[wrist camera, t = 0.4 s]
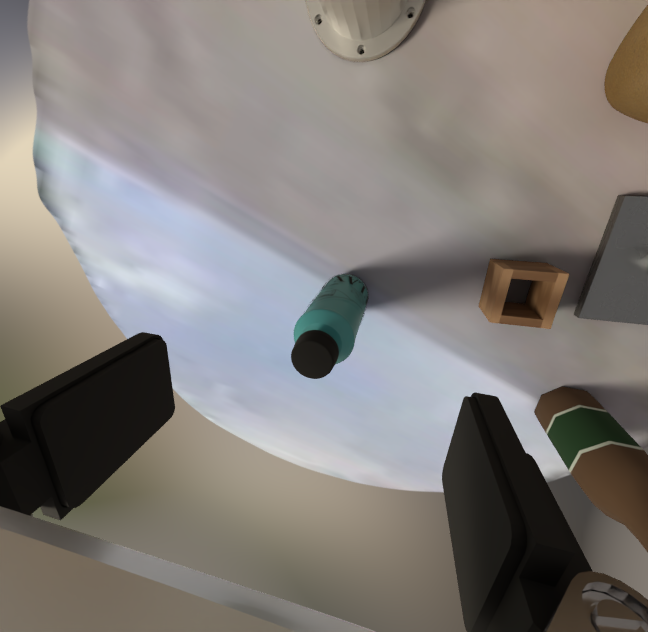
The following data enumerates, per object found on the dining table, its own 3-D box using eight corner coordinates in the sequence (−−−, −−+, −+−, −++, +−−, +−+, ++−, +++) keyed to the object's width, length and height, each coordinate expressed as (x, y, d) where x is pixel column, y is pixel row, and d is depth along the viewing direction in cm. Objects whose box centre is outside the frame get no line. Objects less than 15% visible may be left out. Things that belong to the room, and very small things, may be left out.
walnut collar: (490, 258, 39) (503, 268, 34) (546, 262, 37) (569, 273, 32) (478, 306, 41) (489, 322, 36) (531, 311, 40) (550, 328, 35)
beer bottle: (520, 411, 45) (631, 613, 24) (561, 374, 42) (733, 570, 20) (565, 438, 45) (719, 664, 24) (610, 403, 42) (837, 629, 20)
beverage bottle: (379, 293, 43) (366, 366, 25) (346, 321, 46) (313, 405, 28) (347, 259, 43) (310, 310, 25) (315, 290, 45) (261, 356, 27)
